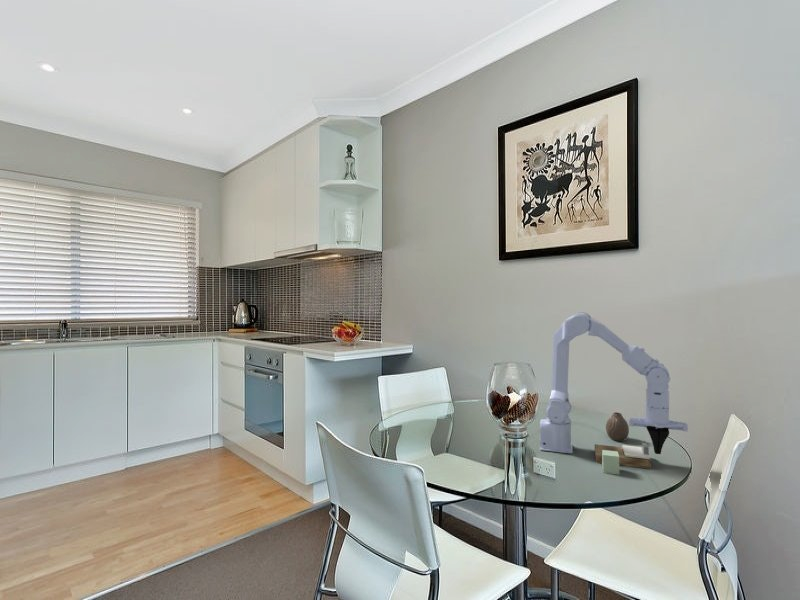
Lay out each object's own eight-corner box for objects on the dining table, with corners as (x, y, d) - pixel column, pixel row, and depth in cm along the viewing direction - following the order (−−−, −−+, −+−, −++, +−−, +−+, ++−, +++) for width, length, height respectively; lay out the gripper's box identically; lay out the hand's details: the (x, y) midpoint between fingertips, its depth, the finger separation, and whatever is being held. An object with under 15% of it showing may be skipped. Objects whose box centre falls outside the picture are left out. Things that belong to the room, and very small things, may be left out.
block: (603, 472, 121) (603, 454, 121) (602, 467, 125) (602, 449, 125) (619, 474, 120) (619, 456, 119) (617, 468, 123) (617, 451, 123)
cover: (624, 456, 126) (624, 447, 126) (622, 446, 133) (622, 438, 133) (650, 459, 123) (650, 450, 123) (645, 449, 131) (645, 441, 131)
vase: (631, 443, 143) (631, 416, 142) (609, 442, 144) (609, 415, 144) (625, 436, 149) (625, 410, 149) (603, 435, 151) (603, 410, 150)
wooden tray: (596, 462, 128) (596, 454, 128) (594, 451, 136) (594, 444, 136) (650, 468, 123) (650, 460, 123) (645, 456, 131) (645, 449, 131)
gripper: (630, 407, 125) (630, 454, 125) (690, 412, 119) (690, 461, 120) (627, 401, 131) (628, 446, 132) (684, 405, 126) (684, 452, 126)
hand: (657, 452), depth 126 cm, fingers closed
